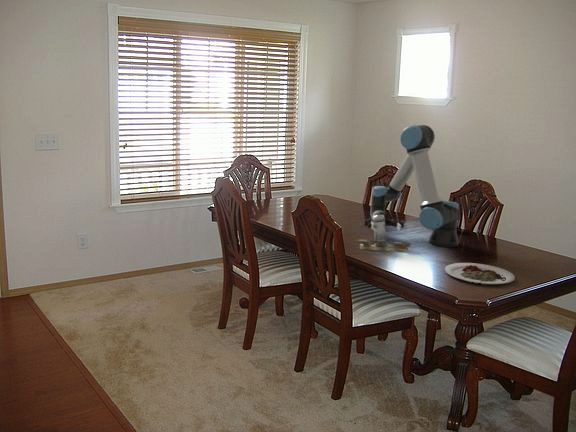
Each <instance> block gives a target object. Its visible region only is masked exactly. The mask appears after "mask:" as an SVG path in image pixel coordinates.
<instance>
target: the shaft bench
mask: <svg viewBox="0 0 576 432" xmlns="http://www.w3.org/2000/svg"><path fill="white" fill-rule="evenodd" d="M358 244H359V250H369V251H382V252H396V253H397V252H398V253H409V248H411V242H403V241H402V242H401V241H399V242H398V241H394V242H393V244H386V245H381V246H376V245H375V241H374V239H373V240H369V239H358Z"/></svg>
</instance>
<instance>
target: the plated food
mask: <svg viewBox="0 0 576 432" xmlns="http://www.w3.org/2000/svg"><path fill="white" fill-rule="evenodd" d="M444 272H445V273H446V274H448V275H449V276H451V277H453V278H456V279H459V280H462V281H465V282H467V283H472V282H473V284H478V283H481V284H480V285H503V284H509V283H512V282H513V281H515V278H516V277H515V275H514V274H513V273H512V272H510V271H508V270H506V269H504V268H502V267H498V266H494V265H490V264H483V263H475V262H455V263H452V264H451V263H450V264H448V265H446V266H445V267H444ZM502 275H503V276H502ZM503 277H505V278H506V280H505V279H504V278H503ZM501 279H502V280H505V281H502V280H501Z"/></svg>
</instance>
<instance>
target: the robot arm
mask: <svg viewBox="0 0 576 432" xmlns="http://www.w3.org/2000/svg"><path fill="white" fill-rule="evenodd" d="M399 140H400V142H399V143H400V144H401V146H402V147H403V148H404V149H405V150H406V153H407V154H406V156H405V158H404V159H403V161H402V162H401V165H400V166H399V168H398V169H397V171H396V173H395V174H394V176H393V178H392V179H391V181H390V183H389V185H388V186H383V185H374V186H373V188H372V193H371V197H372V198H371V208H370V211H369V216H370V217H369V218H368V219H366V220H364V227H367V228H370V229H371V230H372V231H374V224H373V222H372V216H373V215H384V218H385V226H387V227H390V226H391V227H395V228H396V229H397V230H398V231H399V232H401V231H402V230H401V229H403V228H405V222H402V221H399V220H397V219H395V218H392V219H390V218H389V217H388V215H387V214H386V205H387V203H388V202H389V203H390V202H394V201H397V200H399V199H400V198H401V196H402V190H403V189H404V187H405V185H407V182H408V181H409V179H410V178H411V176H412V174H413V173H415V178H416V182H417V186H418V189H419V195H420V198H421V203H420V204H419V208H420V212H419V215H418V218H419V219H418V220H419V223H420V224H421V225H422V227H424V228H425V229H427V230H432V229H433V230H432V232H431V234H430V236H429V240H428V243H429V244H430V245H434V246H438V247H443V248H455V247H458V246H459V237H458V234H457V229H456V227H457V228H458V218H459V217H458V216H459V211H460V210H459V206H460V205H459V203H457V202H455V201H450V200H443V199H441V198H440V197H439V193H438V189H437V185H436V182H435V181H436V180H435V176H434V173H433V169H432V165H431V160H430V156H429V151H430V150H431V148H432V146H433V144H434V142H435V131H434V130H433V128H431V127H430V126H429V125H426V124H421V125H416V124H413V125H409V126H407V127H405V128H404V129H403V130H402V132H401V133H400V137H399Z"/></svg>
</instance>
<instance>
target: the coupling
mask: <svg viewBox="0 0 576 432" xmlns="http://www.w3.org/2000/svg"><path fill="white" fill-rule="evenodd" d="M372 222H373V224H374V230H373V235H374V237H373V238H374V239H373V241H375V245H376V246H381V245H388V239H387V238H388V237H387V232H386V225H385V218H384V215H373V216H372Z"/></svg>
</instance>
